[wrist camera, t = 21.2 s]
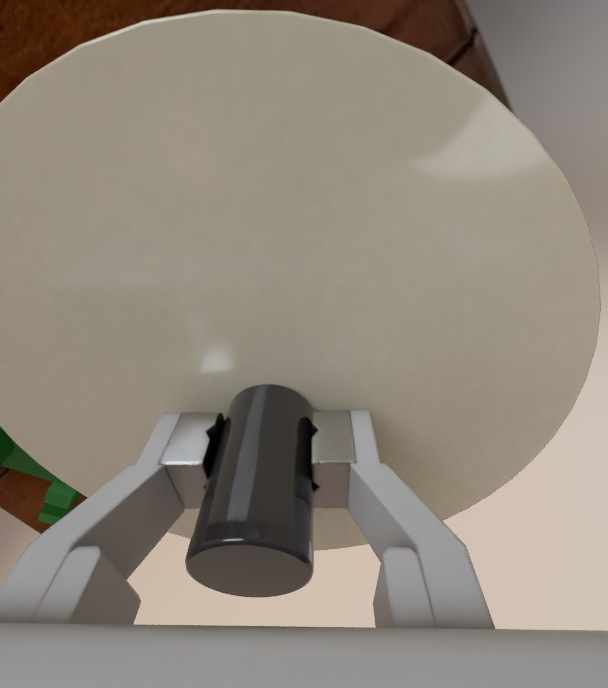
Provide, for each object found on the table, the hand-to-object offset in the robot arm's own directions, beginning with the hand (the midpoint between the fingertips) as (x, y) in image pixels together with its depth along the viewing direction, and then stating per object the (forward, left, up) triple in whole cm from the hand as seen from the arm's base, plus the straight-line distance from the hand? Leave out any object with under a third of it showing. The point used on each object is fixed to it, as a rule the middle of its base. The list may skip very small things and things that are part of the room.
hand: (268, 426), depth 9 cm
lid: (0, 0, -1) cm, 1 cm away
